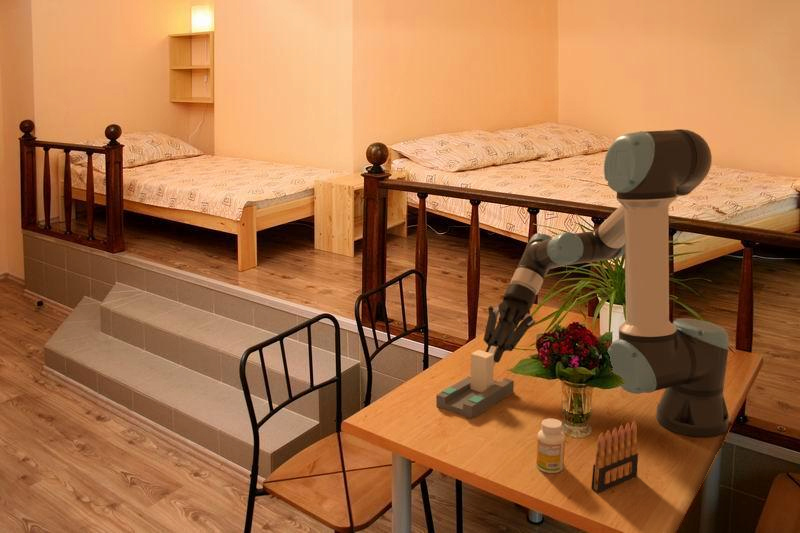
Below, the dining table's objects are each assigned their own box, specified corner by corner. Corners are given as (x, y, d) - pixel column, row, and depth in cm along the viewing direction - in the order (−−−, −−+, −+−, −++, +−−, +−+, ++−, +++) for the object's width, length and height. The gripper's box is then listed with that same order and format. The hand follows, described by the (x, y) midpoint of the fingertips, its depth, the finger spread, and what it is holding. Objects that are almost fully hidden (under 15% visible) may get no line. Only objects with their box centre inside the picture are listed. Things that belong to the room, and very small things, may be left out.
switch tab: (477, 384, 188) (478, 349, 186) (492, 389, 186) (493, 354, 183) (470, 389, 186) (470, 353, 183) (485, 394, 183) (486, 358, 181)
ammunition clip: (629, 472, 152) (634, 417, 149) (637, 476, 150) (641, 420, 147) (590, 488, 146) (594, 431, 143) (598, 493, 145) (601, 435, 142)
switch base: (479, 381, 194) (479, 369, 193) (513, 391, 188) (513, 379, 187) (436, 406, 181) (436, 393, 180) (471, 418, 175) (471, 405, 174)
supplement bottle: (547, 457, 158) (549, 414, 155) (569, 466, 154) (571, 422, 151) (530, 466, 154) (532, 422, 152) (552, 477, 151) (554, 432, 148)
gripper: (550, 302, 194) (513, 385, 186) (506, 292, 202) (469, 371, 194) (540, 287, 188) (502, 372, 181) (495, 277, 196) (457, 358, 189)
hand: (485, 371), depth 188 cm, fingers closed
